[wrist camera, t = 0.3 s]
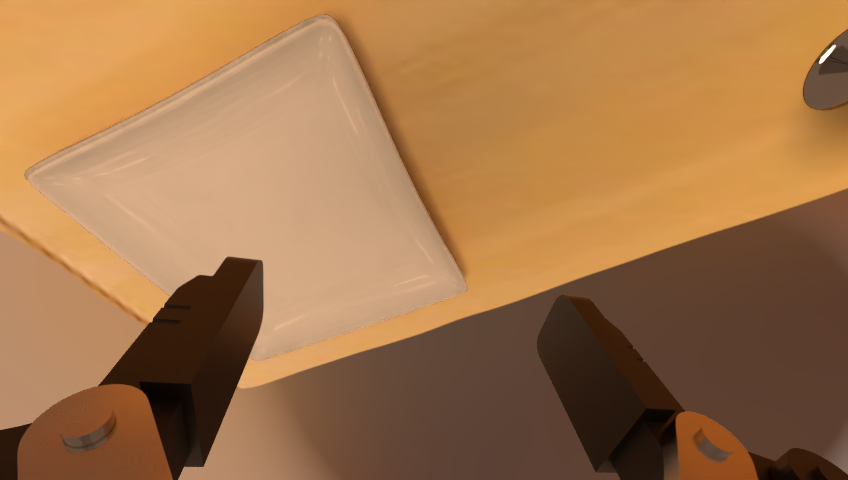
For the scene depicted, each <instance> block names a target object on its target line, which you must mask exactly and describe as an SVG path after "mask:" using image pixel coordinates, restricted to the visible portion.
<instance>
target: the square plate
mask: <svg viewBox="0 0 848 480" xmlns="http://www.w3.org/2000/svg"><path fill="white" fill-rule="evenodd" d="M24 175H25V178H26V180H28V181H29V183H30V184H31V185H32V186H33V187H34V188H35V189H36V190H38V191H39V192H40V193H41V194H43V195H44V196H45V197H46V198H48V199H49V200H50V201H51V202H52V203H54V204H55V205H56V206H57V207H59V208H60V209H61V210H62V211H64V212H65V213H66V214H67V215H69V216H70V217H71V218H72V219H74V220H75V221H76V222H77V223H79V224H80V225H81V226H82V227H84V228H85V229H86V230H87V231H89V232H90V233H91V234H92V235H94V236H95V237H96V238H97V239H99V240H100V241H101V242H102V243H104V244H105V245H106V246H107V247H109V248H110V249H111V250H112V251H114V252H115V253H116V254H117V255H119V256H120V257H121V258H122V259H124V260H125V261H126V262H127V263H128V264H130V265H131V266H132V267H133V268H135V269H136V270H137V271H138V272H140V273H141V274H142V275H143V276H145V277H146V278H147V279H149V280H150V281H151V282H152V283H154V284H155V285H156V286H157V287H159V288H160V289H161V290H162V291H164V292H165V293H166V294H167V295H169V296H170V297H171V296H172V294H173V293H174V292H175V291H176V289H177V288H178V287H180V286H181V285H183V284H185V283H186V282H188V281H190V280H191V279H193V278H194V277H196V276H198V275H207V276H213V275H214V274H215V272H216V271H217V269H218V268H219V267H220V265H221V264H222V262H223V261H224V260H225V258H226V257H228V256H230V257H238V258H247V259H256V260H261V261H262V262H263V290H264V310H263V319H262V324H261V328H260V331H259V334H258V336H257V339H256V341H255V344H254V346H253V348H252V351H251V353H250V356H249V357H250V358H251V359H253V360H256V361H263V360H267V359H270V358H273V357H276V356H279V355H282V354H285V353H288V352H292V351H295V350H298V349H301V348H304V347H307V346H310V345H313V344H316V343H319V342H322V341H325V340H328V339H331V338H334V337H337V336H340V335H344V334H347V333H350V332H353V331H356V330H359V329H362V328H365V327H368V326H371V325H374V324H377V323H380V322H383V321H386V320H389V319H391V318H394V317H397V316H400V315H403V314H406V313H409V312H412V311H415V310H418V309H421V308H424V307H427V306H430V305H432V304H435V303H438V302H441V301H444V300H447V299H450V298H453V297H455V296H458V295H460V294H462V293H464V292H466V291H467V284H466V281H465V279H464V277H463V275H462V273H461V271H460V269H459V267H458V265H457V263H456V262H455V260H454V258H453V256H452V255H451V253H450V251H449V249H448V248H447V246H446V244H445V242H444V241H443V239H442V237H441V235H440V234H439V232H438V230H437V228H436V226H435V225H434V223H433V221H432V219H431V217H430V215H429V213H428V212H427V210H426V208H425V206H424V204H423V202H422V200H421V199H420V197H419V195H418V193H417V191H416V189H415V187H414V185H413V183H412V180H411V178H410V176H409V174H408V172H407V170H406V168H405V166H404V164H403V162H402V160H401V158H400V155H399V153H398V151H397V149H396V146H395V144H394V142H393V140H392V137H391V135H390V133H389V131H388V129H387V126H386V124H385V122H384V120H383V117H382V115H381V113H380V111H379V108H378V106H377V104H376V101H375V99H374V97H373V94H372V92H371V90H370V88H369V85H368V83H367V81H366V79H365V76H364V74H363V72H362V70H361V67H360V65H359V63H358V61H357V59H356V57H355V54H354V52H353V50H352V48H351V46H350V44H349V42H348V40H347V38H346V36H345V35H344V33H343V31H342V30H341V28H340V26H339V25H338V23H337V22H336V21H335V20H334V18H332V17H331V16H329V15H326V14H324V15H317V16H314V17H312V18H309V19H307V20H304V21H303V22H301V23H299V24H297V25H295V26H293V27H291V28H289V29H288V30H286V31H284V32H282V33H280V34H278V35H276V36H275V37H273V38H271V39H269V40H268V41H266V42H264V43H263V44H261V45H259V46H258V47H256V48H254V49H252V50H251V51H249V52H247V53H245V54H244V55H242V56H240V57H238V58H237V59H235V60H233V61H232V62H230V63H228V64H226V65H225V66H223V67H221V68H220V69H218V70H216V71H214V72H212V73H211V74H209V75H207V76H205V77H204V78H202V79H200V80H198V81H197V82H195V83H193V84H191V85H190V86H188V87H186V88H184V89H183V90H181V91H179V92H177V93H175V94H173V95H172V96H170V97H168V98H166V99H164V100H162V101H160V102H159V103H157V104H155V105H153V106H151V107H149V108H147V109H145V110H143V111H141V112H139V113H137V114H135V115H134V116H132V117H130V118H128V119H126V120H124V121H122V122H120V123H118V124H116V125H114V126H112V127H110V128H107V129H105V130H103V131H101V132H99V133H97V134H95V135H93V136H91V137H89V138H86V139H84V140H82V141H80V142H78V143H76V144H74V145H72V146H69V147H67V148H65V149H63V150H61V151H59V152H57V153H55V154H53V155H51V156H49V157H47V158H45V159H44V160H42V161H40V162H38V163H36V164H35V165H33V166H32V167H30V168H29V169H27V170H26V171H25V174H24Z"/></svg>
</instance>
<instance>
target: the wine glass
mask: <svg viewBox="0 0 848 480" xmlns="http://www.w3.org/2000/svg"><path fill="white" fill-rule="evenodd" d="M803 96H804V100H805V102H806V103H807V105H808V106H810V107H811V108H813V109H816V110H831V109H835V108H839V107H842V106H844V105H847V104H848V30H846V31H845V32H843V33H842V34H841V35H840V36H839V37H837V38H836V39H835V40H834V41H833V42H832V43H831V44H830V45H829V46H828V47H827V48H826V49H825V50H824V51H823V52H822V53H821V55H820V56H819V57H818V58H817V60H816V61H815V63H814V64H813V66H812V68H811V69H810V71H809V73H808V75H807V78H806V80H805V84H804V88H803Z"/></svg>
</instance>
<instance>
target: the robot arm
mask: <svg viewBox="0 0 848 480" xmlns="http://www.w3.org/2000/svg"><path fill="white" fill-rule="evenodd" d="M263 310H264V290H263V262H262V261H261V260H256V259H247V258H238V257H230V256H228V257H226V258H225V260H224V261H223V262H222V264H221V265H220V267H219V268H218V269H217V271H216V272H215V274H214V275H213V276H207V275H198V276H196V277H194V278H193V279H191V280H190V281H188V282H186V283H185V284H183V285H181V286H180V287H178V288H177V289H176V291H175V292H174V293H173V294H172V296H171V297H170V298H169V299H168V301H167V302H166V303H165V306H164V308H161V309H160V310H159V312H158V313H157V314H156V315H155V317H154V318H153V321H152V322H150V323H149V324H148V325H147V327H146V328H145V329H144V330H143V332H142V333H141V334H140V335H139V336H138V338H137V339H136V340H135V342H134V343H133V344H132V345H131V347H130V348H129V349H128V350H127V351H126V352H125V354H124V355H123V356H122V357H121V359H120V360H119V361H118V362H117V364H116V365H115V366H114V367H113V369H112V370H111V371H110V373H109V374H108V375H107V376H106V377H105V379H104V380H103V381H102V382H101V383H100V384H99V385H98V387H93V388H90V389H86V390H83V391H80V392H78V393H76V394H74V395H71V396H69V397H67V398H65V399H63V400H61V401H60V402H58V403H56V404H55V405H53V406H52V407H50V408H49V409H48V410H46V411H45V412H44V413H42V414H41V415H40V416H39V417H38V418H37V419H36V420H35V421H34V422H33V423H30V424H26V425H22V426H19V427H14V428H9V429H4V430H0V480H178V478H179V476H180V474H181V472H182V470H183V468H184V467H203V466H204V464H205V462H206V459H207V457H208V454H209V452H210V450H211V447H212V445H213V442H214V440H215V437H216V435H217V433H218V430H219V428H220V425H221V423H222V421H223V418H224V416H225V413H226V411H227V409H228V406H229V404H230V401H231V399H232V397H233V394H234V392H235V389H236V387H237V385H238V382H239V380H240V377H241V375H242V373H243V370H244V368H245V365H246V363H247V360H248V358H249V356H250V353H251V351H252V348H253V346H254V344H255V341H256V339H257V336H258V334H259V331H260V328H261V324H262V319H263ZM537 349H538V353H539V357H540V358H541V361H542V363H543V365H544V367H545V369H546V371H547V373H548V375H549V377H550V379H551V381H552V383H553V385H554V387H555V389H556V392H557V393H558V396H559V398H560V400H561V402H562V403H563V406H564V408H565V410H566V412H567V414H568V416H569V418H570V420H571V422H572V424H573V426H574V428H575V431H576V433H577V435H578V437H579V439H580V441H581V443H582V445H583V447H584V449H585V451H586V453H587V455H588V457H589V459H590V461H591V463H592V465H593V467H594V470H595V472H609V473H612V472H613V473H618V475H619V477H620V479H621V480H848V475H847V474H846V473H845V472H843V471H842V470H841V469H840V468H838V467H837V466H835V465H834V464H832V463H831V462H829V461H828V460H826V459H824V458H822V457H821V456H818V455H816V454H815V453H812V452H810V451H807V450H804V449H799V448H793V449H790V450H789V451H787V452H786V453H785V454H784V455H783V456H781V457H780V458H779V459H778V460H777V461H773V460H770V459H767V458H764V457H762V456H759V455H756V454H753V453H750V452H747V451H746V449H745V448H744V447H743V445H742V444H741V443H740V442H739V441H738V440H737V439H736V438H735V437H734V436H733V435H732V434H731V433H730V432H728V431H727V430H726V429H725V428H723V427H722V426H720V425H719V424H717V423H716V422H715V421H713V420H711V419H709V418H707V417H705V416H703V415H700V414H698V413H694V412H685V410H684V409H683V408H682V407H681V406H680V404H679V403H678V402H677V400H676V399H675V398H674V397H673V395H672V394H671V393H670V392H669V390H668V389H667V388H666V387H665V385H664V384H663V383H662V382H661V381H660V379H659V378H658V377H657V376H656V374H655V373H654V372H653V371H652V369H651V368H650V367H649V366H648V364H647V363H646V362H643V358H642V357H641V356H640V354H639V353H638V352H637V351H636V349H633V346H632V344H631V343H630V342H629V341H628V340H627V338H626V337H625V336H624V334H623V333H622V332H621V331H620V330H619V329H618V328H616V327H615V326H614V325H613V324H612V323H610V322H609V321H608V320H607V319H605V318H604V316H603V315H602V314H601V312H600V311H599V310H598V309H597V307H596V306H595V305H594V303H593V302H592V301H591V300H590V299H588V298H583V297H574V296H565V295H561V296H559V297H558V298H557V299H556V300H555V303H554V305H553V307H552V308H551V310H550V312H549V315H548V316H547V319H546V321H545V323H544V325H543V327H542V329H541V331H540V333H539V336H538V340H537Z"/></svg>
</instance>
